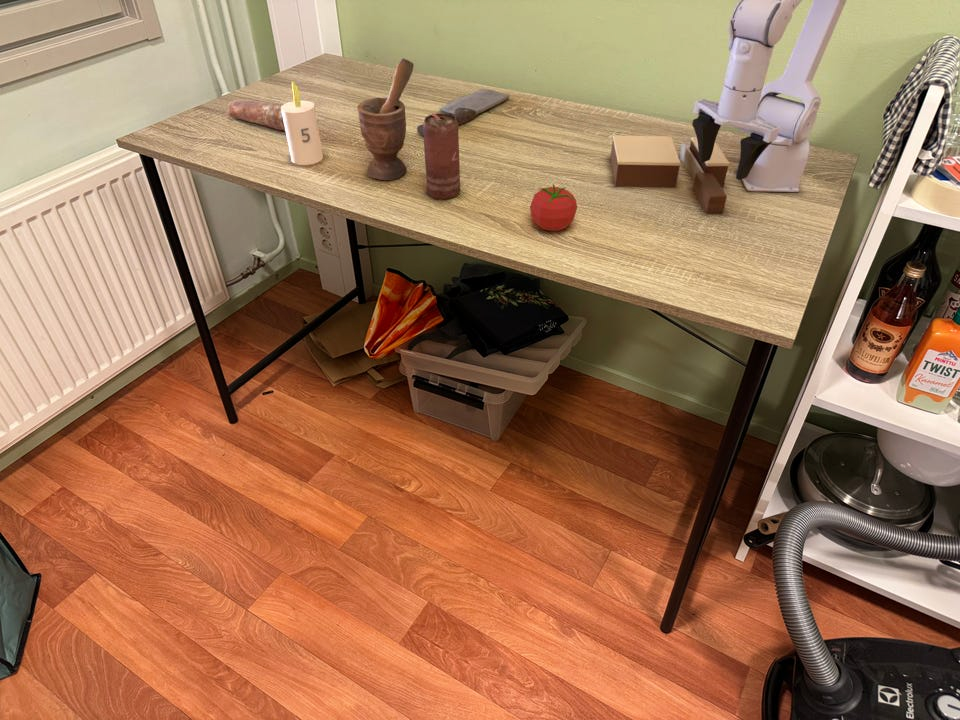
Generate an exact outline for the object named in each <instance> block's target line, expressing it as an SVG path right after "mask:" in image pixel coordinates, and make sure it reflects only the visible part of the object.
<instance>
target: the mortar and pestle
mask: <svg viewBox="0 0 960 720" xmlns="http://www.w3.org/2000/svg"><path fill="white" fill-rule="evenodd" d="M413 71H414V63H413V61H410V60H409V59H406V58H401V59H400V60H399V61H398V63H397V65H396V68H395V71H394V74H393V79H392V83H391V86H390V89H389V93H388V96H387V97H372V98H367V99H365V100H363V101H361V102H359V103H358V104H357V105H356V109H357V114H358V122H359V129H360V134H361V137H362V138H363V140H364V145H365V148H366V149H367V151H369V153H371V154H372V155H373V159H372V160H371V161H370V162H369V163H368V165H367V174H368V175H367V176H368V177H369V178H371V179H374V180H379V181H393V180H397V179H399V178H401V177H403V176H404V175H405V174H406V172H407V167H406V165H405V163H404V162H403V160H402V159H401V158H400V157H398V154H399V152H400V151H401V150H402V148H403V147H404V144H405V139H406V134H407V120H406V119H407V117H406V106H405V104H404V102H403V101H402V100H400V99H401V97H402V94H403V92H404V90H405V88H406V86H407V84H408V83H409V81H410V78H411V76H412V73H413Z"/></svg>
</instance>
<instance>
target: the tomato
mask: <svg viewBox="0 0 960 720" xmlns="http://www.w3.org/2000/svg"><path fill="white" fill-rule="evenodd" d="M537 190H539V191H537V192H536V193H534V194H533V197H532V200H531V203H530V205H529V211H530V216H531V218H532V221H534V223H535V224H536V225H538V226H539V227H540V228H542V229H543V230H546V231H560V230H564V228H567V226H569V225H570V224H572V222H573V221H574V219H575V216H576V213H577V210H578V204H577V199H576V197H575V196H574V194H573V193H571V192H570V191H569V190H567V189H566V188H565V187H559V186H556V185H555V184H554V183H553V184H552V186H549V187H545V188H544V187H543V188H537Z"/></svg>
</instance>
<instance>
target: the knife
mask: <svg viewBox="0 0 960 720" xmlns="http://www.w3.org/2000/svg"><path fill="white" fill-rule="evenodd" d="M689 148H690V146H689V145H688V144H687V142H686V141H684V140H683V141H682V142H681V146H680V151H679V155H678V157H679V159H680V161H681V162H682V164H683V165H684V167H685V168H686V170H687V173H688V174H689V176H690V177H691V179H692V181H693V185H692V187H691V190H692V192H693V194H694V196H695V197H696V199H697V201H698V202H699V204H700V207H701V208H702V209H703V211H704V213H705V215H717V214H718V215H722V214H723V213H724V211H725V206H726V202H727V198H728V195H727V194H726V192H725V191H724V189H723V188H721V186H720V184H719V183H718V181H717V180H716V178H715V177H714V175H713V174H712V173H704V171H703V170H702V168H701V167H700V165H699V163H698V162H697V160H696V159H695V157H694V155H693V154H692V152H691V151H690V149H689Z"/></svg>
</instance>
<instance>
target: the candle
mask: <svg viewBox="0 0 960 720" xmlns="http://www.w3.org/2000/svg"><path fill="white" fill-rule="evenodd" d="M291 90H292V98H293V100H292V101H288V102H286V103H282V104H283V105H282V106H281V111H282V116H283V121H284V126H285V130H286V131H285V135H286V140H287V145H288V149H289V150H288V151H289V155H290V160H291V162H292V163H293V164H295V165H299V166H310V165H316V164H317V163H320V162H321V161H322V160H323V158H324V155H323V148H322V142H321V136H320V131H319V125H318V119H317V114H316V107H315V104H314V102H312V101H310V100H302V99H301V95H300V92H299V89H298V86H297V84H296V82H294V81H293V80H292V81H291Z"/></svg>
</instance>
